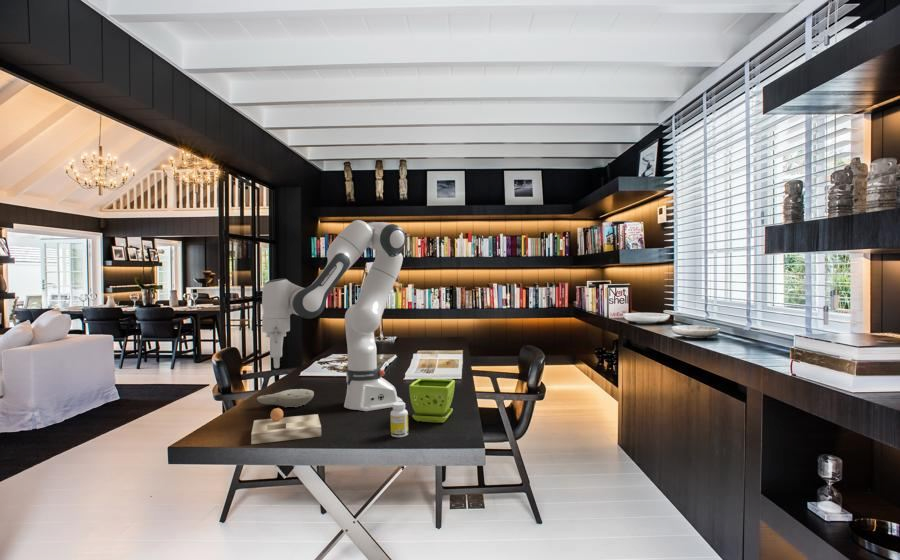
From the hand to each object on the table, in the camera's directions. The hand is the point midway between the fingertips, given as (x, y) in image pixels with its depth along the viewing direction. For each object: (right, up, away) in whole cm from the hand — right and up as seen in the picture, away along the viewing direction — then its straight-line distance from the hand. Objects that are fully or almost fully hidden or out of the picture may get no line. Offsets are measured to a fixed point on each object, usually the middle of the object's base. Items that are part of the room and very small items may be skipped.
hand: (276, 367), depth 161 cm
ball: (+3, -14, -7) cm, 16 cm away
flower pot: (+53, -19, +4) cm, 56 cm away
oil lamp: (-5, -20, +23) cm, 30 cm away
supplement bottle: (+43, -19, -13) cm, 49 cm away
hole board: (+7, -19, -10) cm, 23 cm away
